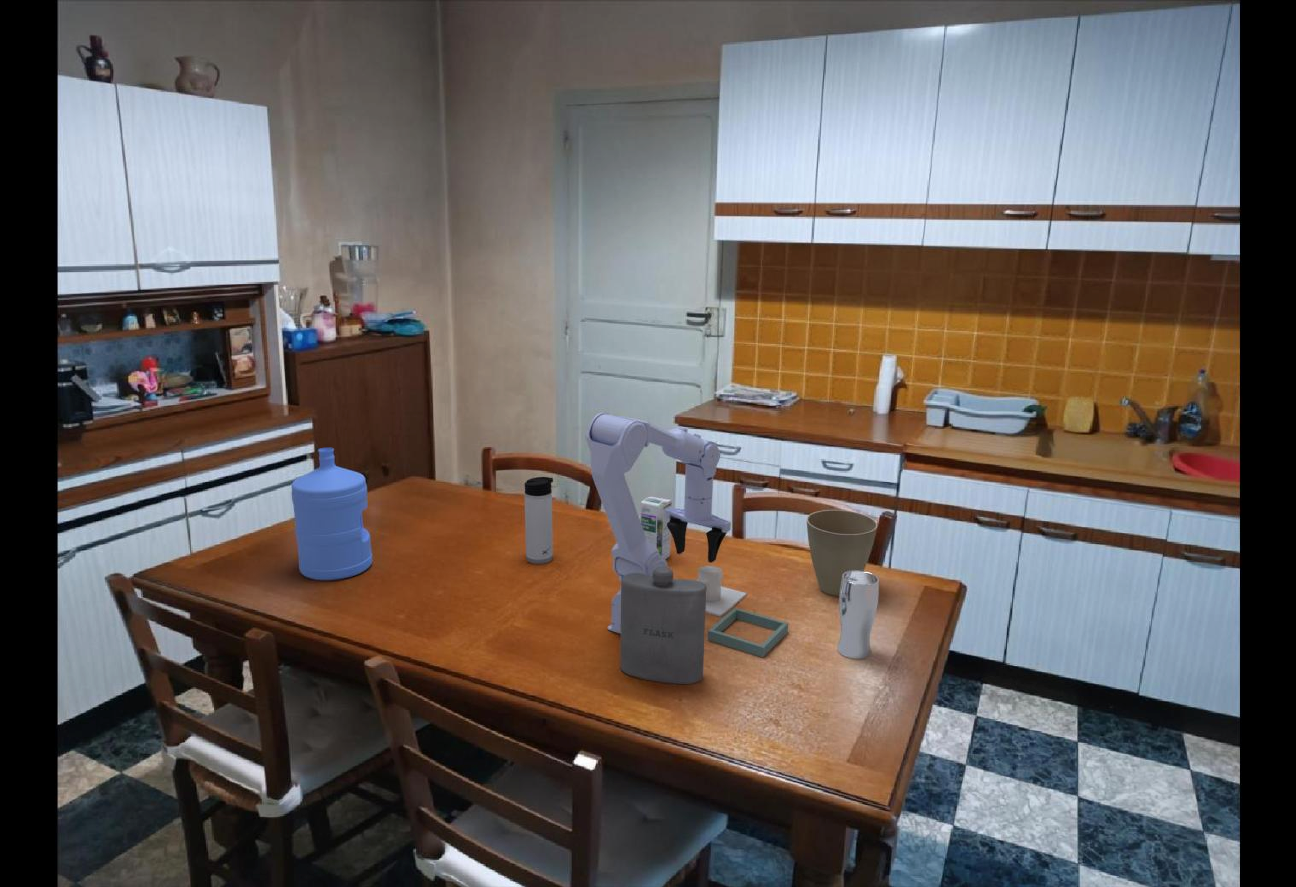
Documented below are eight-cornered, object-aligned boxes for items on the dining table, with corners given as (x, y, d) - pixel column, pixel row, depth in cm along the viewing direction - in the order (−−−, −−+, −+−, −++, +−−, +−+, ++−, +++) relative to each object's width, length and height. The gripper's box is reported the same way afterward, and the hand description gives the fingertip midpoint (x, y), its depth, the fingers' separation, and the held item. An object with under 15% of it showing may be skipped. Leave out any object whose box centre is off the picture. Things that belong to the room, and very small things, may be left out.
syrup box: (638, 559, 190) (639, 501, 186) (650, 551, 195) (651, 494, 191) (659, 564, 187) (661, 506, 183) (671, 556, 192) (672, 498, 188)
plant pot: (815, 569, 186) (820, 505, 181) (878, 584, 178) (885, 517, 174) (791, 593, 173) (796, 524, 169) (859, 611, 166) (866, 539, 162)
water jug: (324, 588, 172) (312, 463, 165) (285, 569, 181) (272, 450, 174) (386, 565, 184) (378, 448, 177) (347, 548, 193) (337, 436, 186)
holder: (763, 657, 147) (763, 647, 147) (707, 640, 153) (707, 630, 152) (787, 632, 157) (788, 622, 156) (734, 616, 163) (734, 607, 162)
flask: (615, 676, 140) (616, 571, 135) (624, 659, 146) (625, 557, 140) (699, 689, 137) (703, 581, 132) (705, 671, 142) (709, 567, 137)
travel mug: (552, 564, 186) (551, 482, 181) (524, 564, 186) (522, 482, 181) (555, 554, 192) (554, 474, 187) (528, 553, 192) (526, 474, 187)
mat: (720, 617, 162) (720, 614, 162) (670, 602, 168) (670, 599, 168) (746, 595, 172) (746, 593, 172) (697, 581, 178) (697, 579, 178)
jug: (702, 589, 173) (704, 564, 172) (724, 595, 171) (725, 569, 169) (690, 601, 167) (691, 574, 166) (712, 607, 165) (713, 580, 164)
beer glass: (845, 638, 155) (851, 566, 151) (879, 650, 150) (886, 576, 147) (828, 652, 149) (834, 578, 146) (863, 664, 145) (870, 589, 141)
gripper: (738, 497, 164) (735, 558, 168) (678, 484, 172) (676, 543, 175) (722, 506, 159) (719, 569, 162) (660, 492, 166) (659, 553, 170)
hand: (696, 556), depth 168 cm, fingers open, 7 cm apart
